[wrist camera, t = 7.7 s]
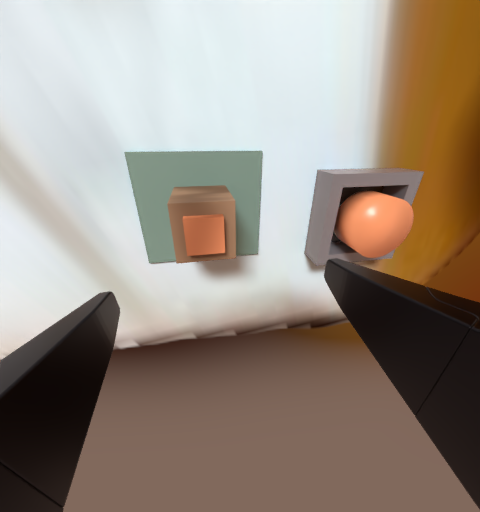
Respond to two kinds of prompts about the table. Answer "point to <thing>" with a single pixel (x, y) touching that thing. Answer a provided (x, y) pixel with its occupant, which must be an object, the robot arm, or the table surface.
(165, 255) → the board
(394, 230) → the button
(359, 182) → the button box
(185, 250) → the block
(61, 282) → the table surface
